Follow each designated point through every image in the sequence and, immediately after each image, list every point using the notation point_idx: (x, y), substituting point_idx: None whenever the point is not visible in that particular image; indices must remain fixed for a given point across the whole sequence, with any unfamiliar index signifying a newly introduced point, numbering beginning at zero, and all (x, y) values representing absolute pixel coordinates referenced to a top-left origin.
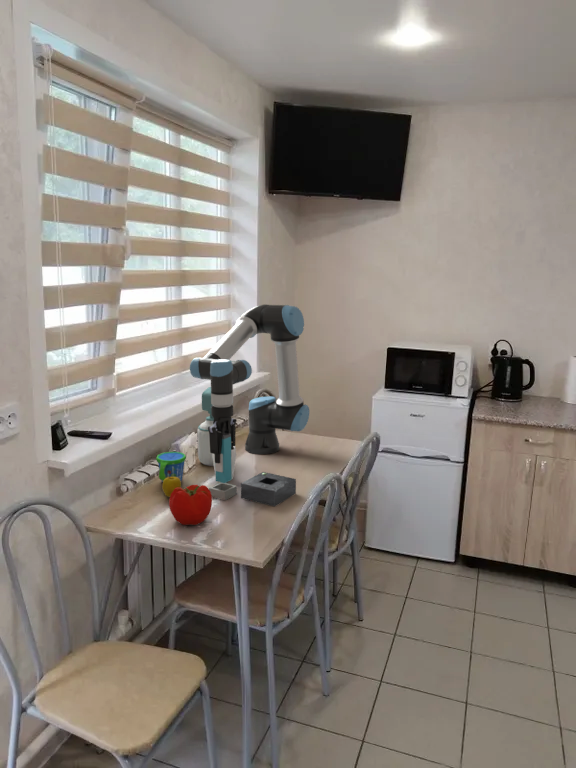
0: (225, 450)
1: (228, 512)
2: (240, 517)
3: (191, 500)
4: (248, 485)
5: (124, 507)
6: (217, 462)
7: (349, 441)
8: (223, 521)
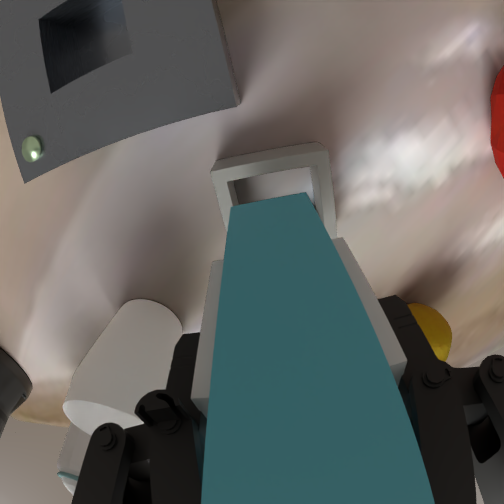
0: (365, 401)
1: (402, 38)
2: None
3: None
4: (222, 45)
5: (492, 320)
6: (401, 307)
7: None
8: (460, 15)
